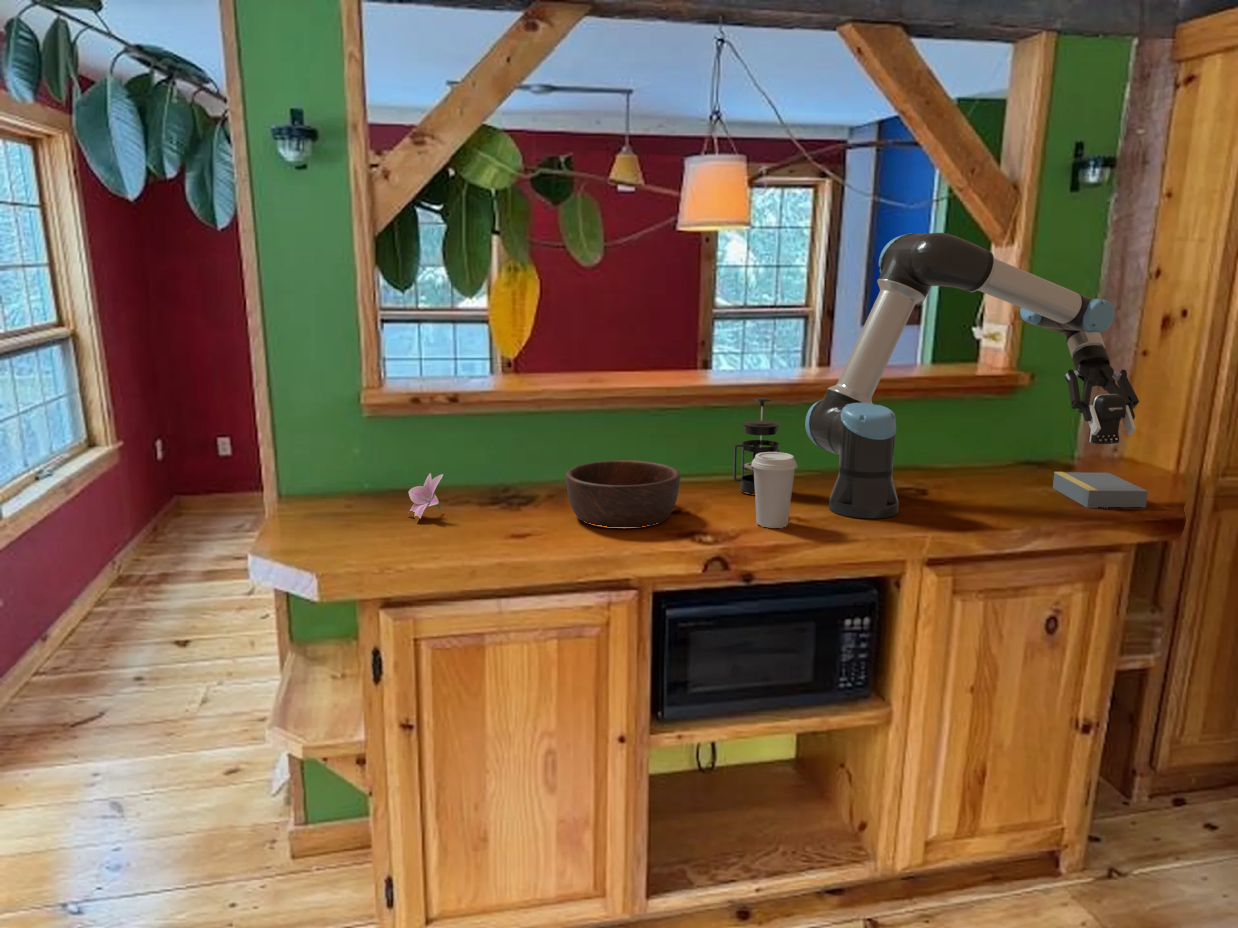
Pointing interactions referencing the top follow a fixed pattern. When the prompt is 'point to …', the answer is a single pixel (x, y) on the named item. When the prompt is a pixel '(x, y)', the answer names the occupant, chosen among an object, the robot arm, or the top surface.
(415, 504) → the lily
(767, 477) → the coffee cup
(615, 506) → the wooden bowl
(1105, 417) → the battery charger
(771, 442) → the french press
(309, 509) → the top surface
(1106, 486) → the dock
